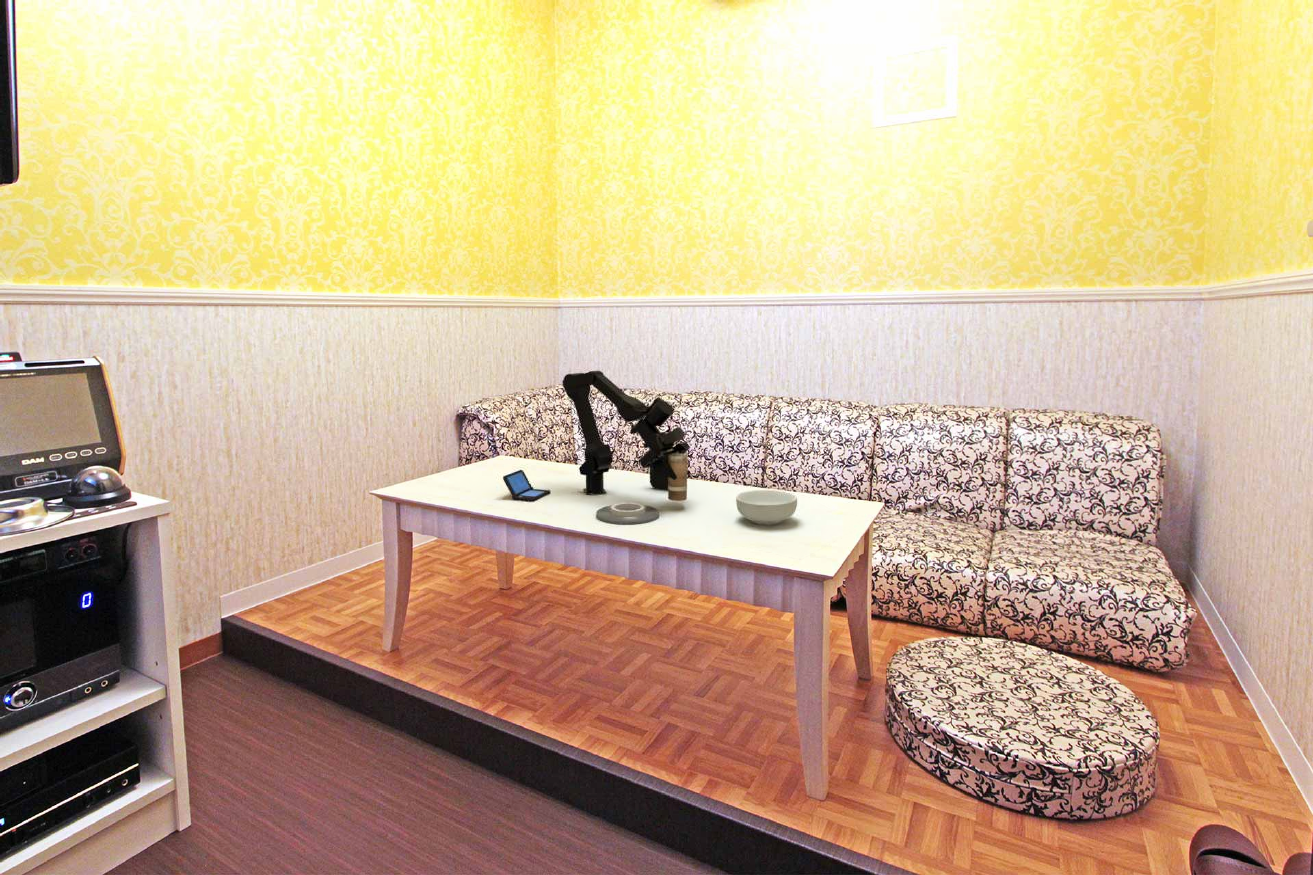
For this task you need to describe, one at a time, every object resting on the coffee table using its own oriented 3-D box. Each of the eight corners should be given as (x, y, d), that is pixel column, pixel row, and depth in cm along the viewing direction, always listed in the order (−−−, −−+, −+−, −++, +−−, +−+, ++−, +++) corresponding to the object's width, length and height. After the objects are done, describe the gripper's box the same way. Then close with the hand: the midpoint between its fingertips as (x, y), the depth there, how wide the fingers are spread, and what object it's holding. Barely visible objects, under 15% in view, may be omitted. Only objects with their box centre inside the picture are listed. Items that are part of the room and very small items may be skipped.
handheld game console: (533, 502, 221) (532, 479, 220) (502, 500, 225) (501, 476, 224) (552, 493, 233) (551, 471, 232) (522, 490, 237) (521, 468, 235)
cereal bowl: (756, 509, 213) (756, 486, 212) (807, 519, 203) (808, 495, 202) (723, 522, 201) (724, 497, 199) (776, 533, 190) (777, 507, 189)
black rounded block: (645, 488, 239) (645, 444, 237) (649, 486, 242) (649, 443, 239) (674, 492, 234) (674, 447, 232) (678, 490, 237) (678, 445, 234)
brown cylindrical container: (665, 496, 216) (666, 453, 214) (683, 495, 218) (684, 453, 215) (671, 501, 211) (671, 457, 209) (689, 500, 212) (690, 456, 210)
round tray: (591, 509, 213) (590, 501, 212) (650, 505, 218) (650, 497, 217) (602, 526, 196) (602, 517, 195) (666, 521, 200) (666, 513, 200)
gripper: (648, 422, 205) (679, 466, 201) (685, 415, 220) (715, 455, 215) (626, 446, 211) (656, 489, 206) (664, 438, 226) (693, 477, 221)
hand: (681, 477), depth 212 cm, fingers closed on brown cylindrical container, 5 cm apart
